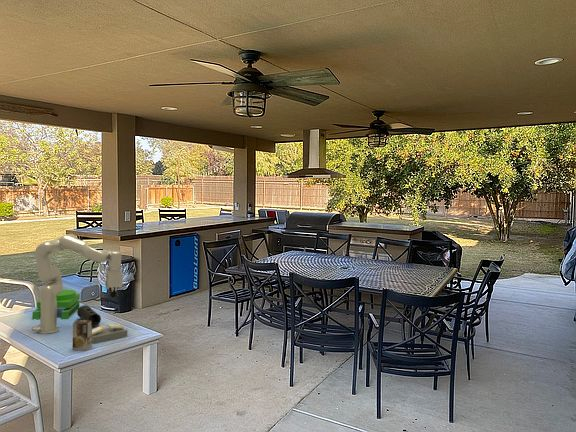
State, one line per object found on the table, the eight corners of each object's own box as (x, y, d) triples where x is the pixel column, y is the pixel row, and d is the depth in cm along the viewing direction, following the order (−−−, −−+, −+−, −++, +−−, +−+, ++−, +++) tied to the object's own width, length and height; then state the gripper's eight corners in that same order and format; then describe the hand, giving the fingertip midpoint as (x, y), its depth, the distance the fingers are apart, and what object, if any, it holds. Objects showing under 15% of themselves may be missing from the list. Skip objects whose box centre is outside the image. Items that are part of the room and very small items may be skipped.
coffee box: (92, 346, 262) (92, 320, 261) (87, 350, 255) (88, 323, 255) (76, 346, 262) (77, 319, 261) (71, 349, 255) (72, 322, 254)
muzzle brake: (86, 329, 295) (86, 314, 294) (76, 319, 316) (76, 305, 316) (101, 327, 301) (101, 312, 300) (90, 317, 322) (90, 303, 322)
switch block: (93, 343, 266) (93, 335, 266) (85, 339, 274) (85, 331, 274) (127, 336, 283) (127, 328, 282) (118, 332, 291) (118, 324, 290)
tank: (28, 323, 306) (28, 300, 305) (46, 309, 340) (46, 289, 339) (65, 322, 310) (66, 300, 309) (79, 309, 344) (80, 288, 344)
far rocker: (110, 328, 278) (111, 326, 278) (107, 326, 281) (107, 324, 281) (123, 328, 284) (124, 326, 284) (120, 326, 288) (120, 324, 288)
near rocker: (92, 334, 269) (91, 333, 269) (88, 333, 272) (88, 331, 272) (106, 328, 275) (105, 326, 275) (102, 326, 279) (102, 324, 279)
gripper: (105, 271, 280) (104, 299, 281) (127, 270, 291) (126, 296, 292) (101, 269, 286) (99, 297, 286) (122, 268, 296) (121, 294, 297)
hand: (112, 296), depth 289 cm, fingers closed
